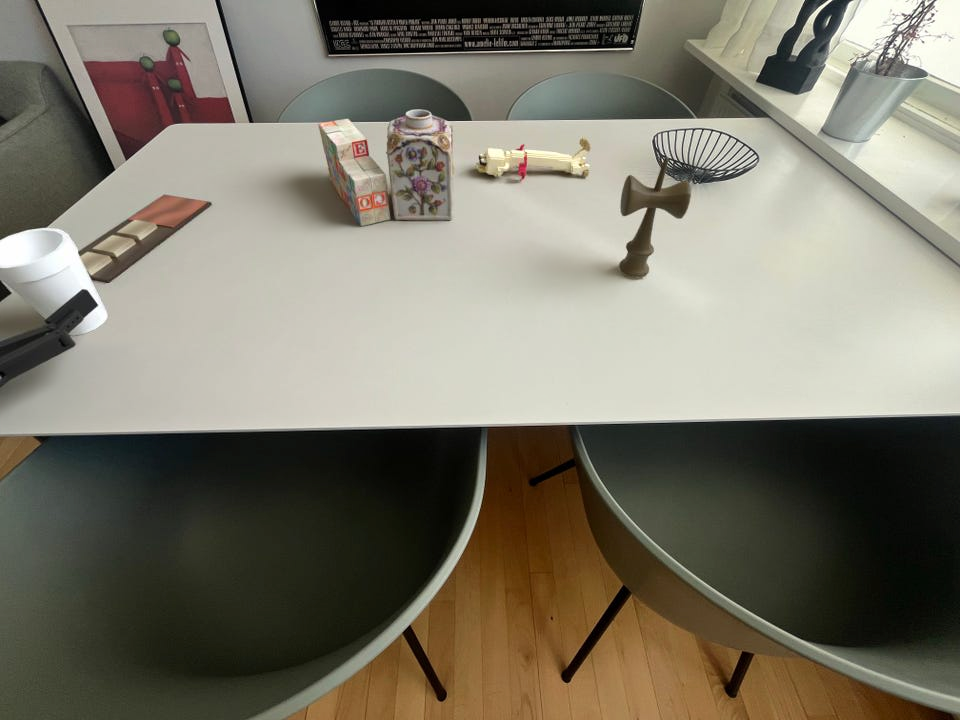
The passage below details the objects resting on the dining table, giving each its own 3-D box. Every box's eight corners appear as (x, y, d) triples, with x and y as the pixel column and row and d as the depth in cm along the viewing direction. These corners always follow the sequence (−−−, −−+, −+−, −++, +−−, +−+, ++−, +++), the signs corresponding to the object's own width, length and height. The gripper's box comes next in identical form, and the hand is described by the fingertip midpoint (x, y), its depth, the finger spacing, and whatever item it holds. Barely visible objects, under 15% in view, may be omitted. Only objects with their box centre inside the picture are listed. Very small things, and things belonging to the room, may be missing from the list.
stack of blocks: (391, 220, 94) (383, 157, 85) (361, 227, 92) (349, 164, 83) (357, 175, 107) (347, 117, 98) (330, 181, 105) (317, 122, 96)
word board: (53, 272, 81) (47, 264, 79) (165, 197, 99) (161, 189, 98) (108, 283, 79) (103, 275, 78) (212, 204, 97) (209, 197, 96)
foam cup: (66, 302, 75) (9, 229, 66) (128, 299, 76) (80, 226, 66) (33, 345, 69) (-36, 269, 59) (102, 341, 69) (45, 266, 60)
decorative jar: (393, 221, 94) (381, 125, 81) (398, 192, 102) (388, 101, 89) (454, 221, 94) (452, 125, 81) (454, 192, 102) (453, 101, 89)
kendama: (604, 259, 86) (631, 146, 72) (658, 263, 85) (697, 150, 71) (606, 279, 82) (635, 163, 67) (663, 283, 81) (705, 168, 67)
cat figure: (578, 168, 114) (474, 160, 111) (588, 130, 108) (478, 121, 105) (587, 188, 107) (476, 180, 104) (598, 149, 101) (480, 139, 98)
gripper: (-173, 415, 56) (-14, 301, 70) (16, 448, 53) (141, 323, 68) (-242, 372, 50) (-54, 258, 65) (-35, 406, 48) (113, 279, 62)
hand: (46, 291), depth 66 cm, fingers open, 13 cm apart
